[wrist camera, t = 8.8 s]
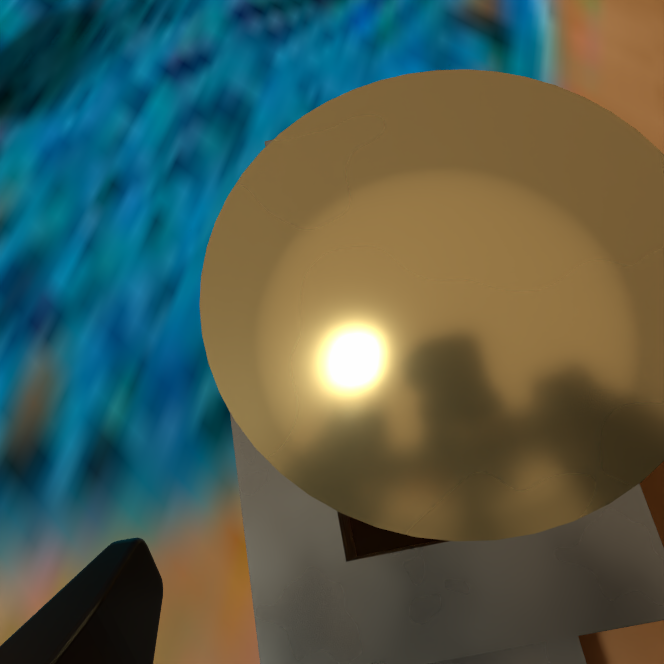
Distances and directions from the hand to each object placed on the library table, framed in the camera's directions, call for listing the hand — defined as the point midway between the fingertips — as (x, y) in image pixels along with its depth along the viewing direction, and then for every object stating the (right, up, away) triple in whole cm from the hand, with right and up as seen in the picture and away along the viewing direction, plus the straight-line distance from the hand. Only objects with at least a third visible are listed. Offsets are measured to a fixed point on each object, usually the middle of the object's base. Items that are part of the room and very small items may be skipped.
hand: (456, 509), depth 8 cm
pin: (+1, -1, +10) cm, 10 cm away
